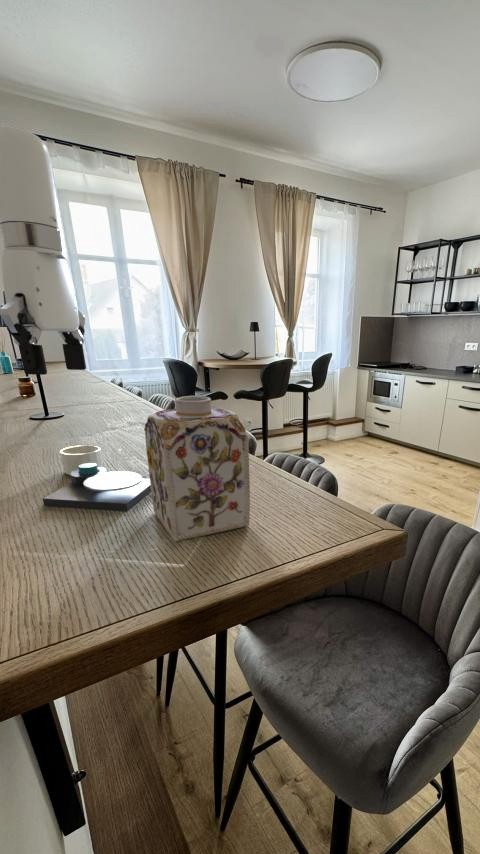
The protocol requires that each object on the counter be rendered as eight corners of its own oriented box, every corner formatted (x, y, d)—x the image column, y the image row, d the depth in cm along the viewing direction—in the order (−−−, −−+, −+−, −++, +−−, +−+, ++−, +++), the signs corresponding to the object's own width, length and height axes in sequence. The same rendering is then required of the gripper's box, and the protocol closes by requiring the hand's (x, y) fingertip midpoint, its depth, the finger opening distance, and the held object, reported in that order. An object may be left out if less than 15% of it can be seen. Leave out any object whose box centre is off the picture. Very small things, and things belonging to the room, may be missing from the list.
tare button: (76, 475, 72) (74, 467, 71) (85, 470, 75) (84, 462, 74) (92, 476, 72) (91, 468, 71) (101, 471, 74) (100, 463, 74)
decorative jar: (222, 500, 69) (218, 390, 63) (252, 526, 60) (251, 401, 53) (150, 513, 64) (137, 394, 57) (171, 544, 54) (158, 407, 48)
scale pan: (72, 489, 64) (71, 487, 64) (102, 472, 73) (101, 470, 73) (126, 493, 63) (126, 490, 63) (150, 475, 72) (150, 473, 72)
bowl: (56, 476, 80) (51, 453, 78) (77, 465, 86) (73, 444, 85) (91, 478, 79) (87, 455, 77) (109, 467, 86) (106, 446, 84)
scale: (41, 506, 66) (37, 488, 65) (85, 481, 77) (82, 466, 76) (127, 512, 64) (125, 494, 63) (158, 485, 76) (157, 470, 74)
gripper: (50, 256, 66) (69, 367, 72) (-43, 229, 50) (-8, 376, 56) (94, 255, 65) (109, 368, 71) (13, 228, 49) (42, 377, 55)
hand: (57, 371), depth 64 cm, fingers open, 9 cm apart
